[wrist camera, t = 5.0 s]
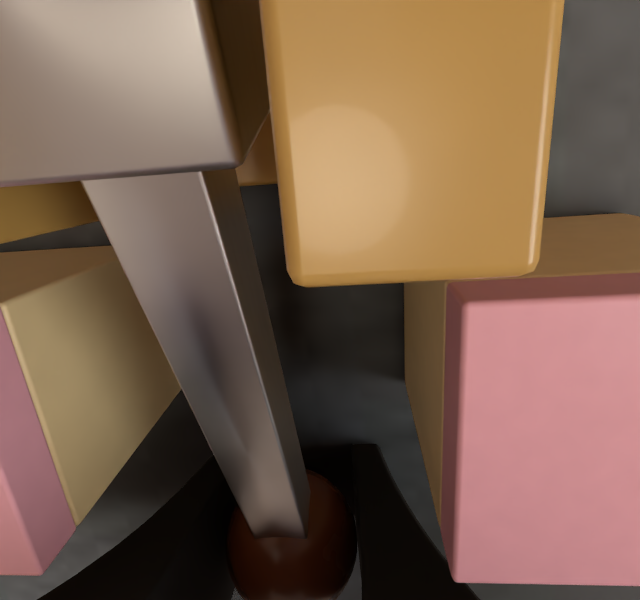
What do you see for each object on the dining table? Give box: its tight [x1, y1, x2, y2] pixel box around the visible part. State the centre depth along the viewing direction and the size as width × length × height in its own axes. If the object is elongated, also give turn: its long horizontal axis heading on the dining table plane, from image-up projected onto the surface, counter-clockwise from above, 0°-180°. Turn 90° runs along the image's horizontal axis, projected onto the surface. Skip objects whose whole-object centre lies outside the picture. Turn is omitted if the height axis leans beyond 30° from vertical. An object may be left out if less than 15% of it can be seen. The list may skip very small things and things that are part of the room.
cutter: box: [0, 0, 357, 600], centre depth 6 cm, size 13×3×3 cm, turn 4°
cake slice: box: [404, 213, 640, 586], centre depth 7 cm, size 4×4×5 cm
